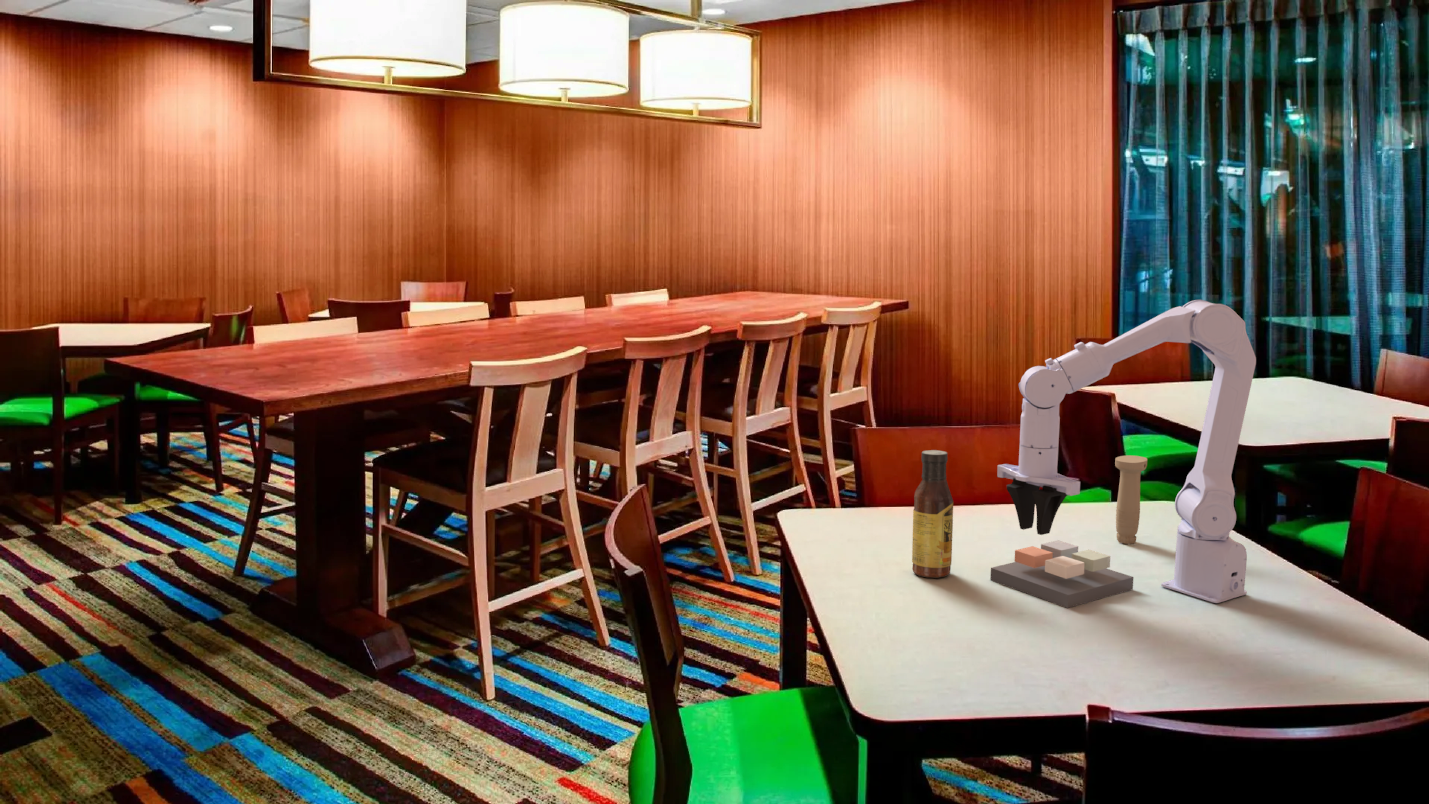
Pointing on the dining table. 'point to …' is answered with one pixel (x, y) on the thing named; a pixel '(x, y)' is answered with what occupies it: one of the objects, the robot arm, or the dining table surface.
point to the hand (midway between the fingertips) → (1034, 530)
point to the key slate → (1060, 548)
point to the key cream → (1064, 567)
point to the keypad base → (1062, 583)
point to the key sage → (1092, 560)
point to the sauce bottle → (932, 518)
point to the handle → (1128, 497)
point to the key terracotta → (1032, 556)
